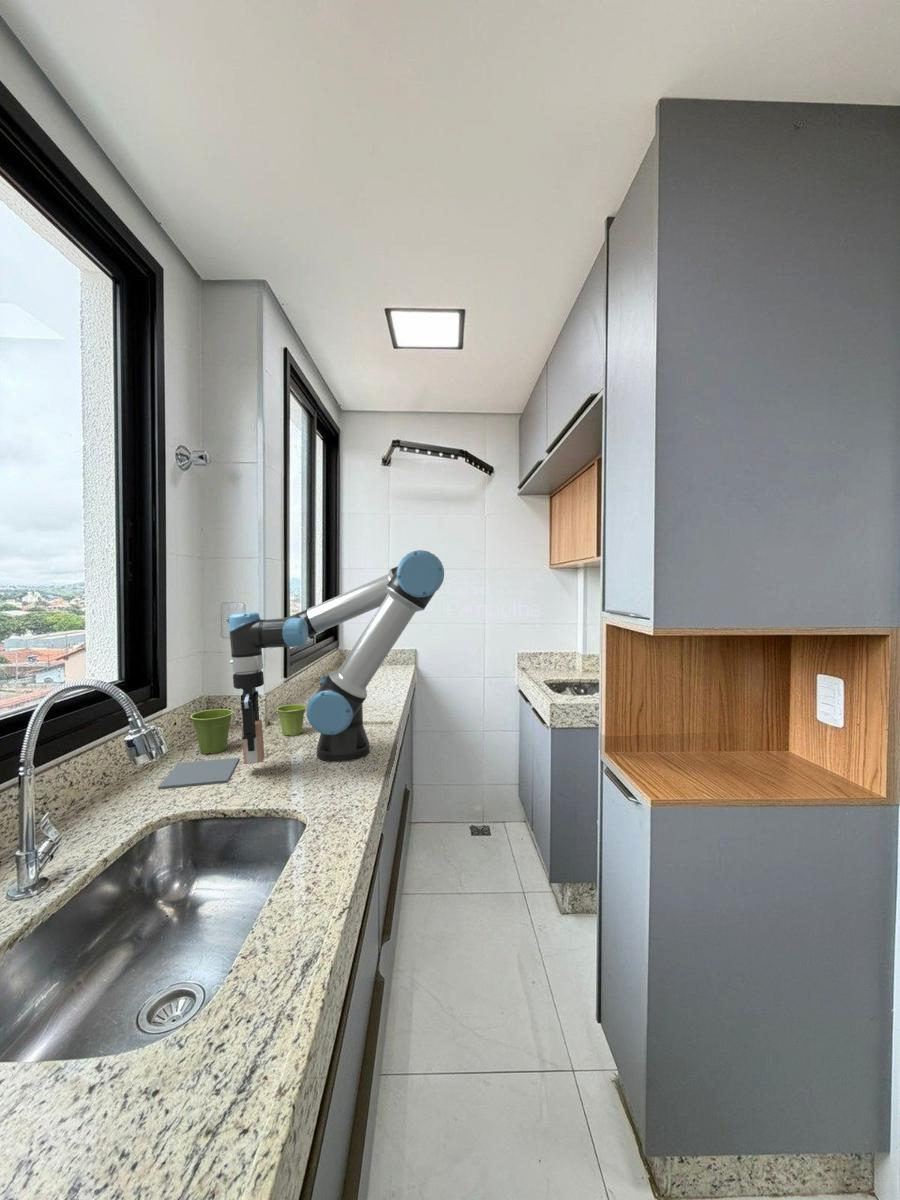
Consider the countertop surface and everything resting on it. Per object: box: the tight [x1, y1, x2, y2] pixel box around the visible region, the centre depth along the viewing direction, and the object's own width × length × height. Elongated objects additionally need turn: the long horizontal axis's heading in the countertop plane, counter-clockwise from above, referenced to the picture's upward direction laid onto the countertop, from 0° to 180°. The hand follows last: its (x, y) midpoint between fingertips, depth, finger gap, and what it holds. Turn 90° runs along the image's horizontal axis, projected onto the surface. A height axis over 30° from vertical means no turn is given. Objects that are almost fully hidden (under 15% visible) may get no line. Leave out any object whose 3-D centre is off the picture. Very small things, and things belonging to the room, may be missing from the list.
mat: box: [157, 757, 240, 790], centre depth 145 cm, size 16×18×1 cm
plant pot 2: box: [276, 704, 307, 737], centre depth 181 cm, size 9×9×9 cm
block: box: [241, 719, 265, 765], centre depth 145 cm, size 4×4×10 cm
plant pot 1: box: [189, 708, 234, 755], centre depth 164 cm, size 12×12×11 cm
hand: (254, 759), depth 145 cm, fingers closed on block, 4 cm apart
